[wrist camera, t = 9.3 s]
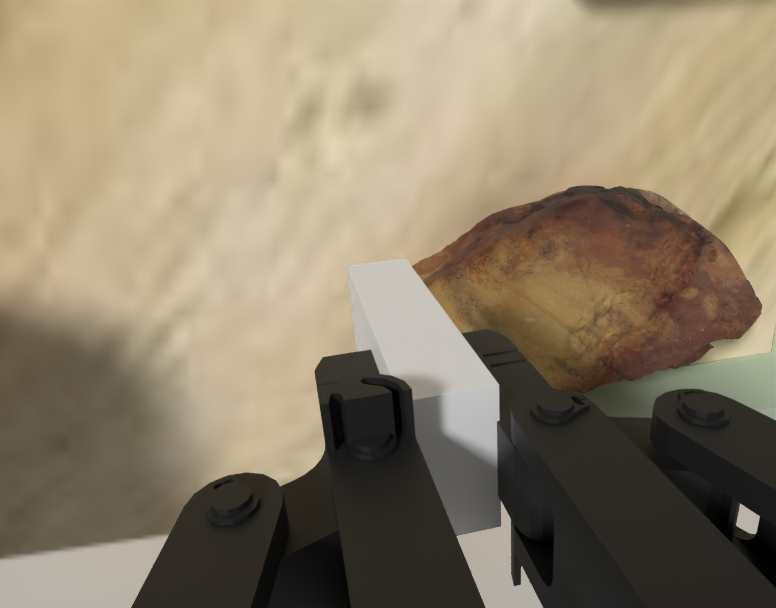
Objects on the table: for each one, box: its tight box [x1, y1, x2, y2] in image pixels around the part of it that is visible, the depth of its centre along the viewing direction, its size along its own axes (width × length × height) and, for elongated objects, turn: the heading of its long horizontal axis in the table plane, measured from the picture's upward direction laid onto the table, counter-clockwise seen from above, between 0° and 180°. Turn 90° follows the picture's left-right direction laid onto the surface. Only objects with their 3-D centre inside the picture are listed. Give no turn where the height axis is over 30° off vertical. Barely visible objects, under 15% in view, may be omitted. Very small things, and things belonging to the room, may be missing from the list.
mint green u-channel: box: [575, 329, 776, 420], centre depth 24 cm, size 16×22×4 cm
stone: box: [412, 186, 762, 394], centre depth 25 cm, size 15×9×5 cm, turn 115°
